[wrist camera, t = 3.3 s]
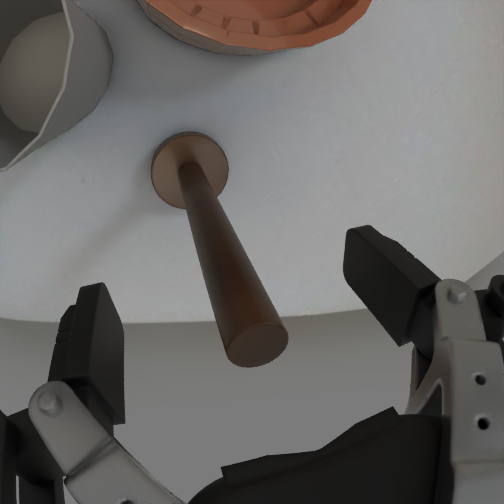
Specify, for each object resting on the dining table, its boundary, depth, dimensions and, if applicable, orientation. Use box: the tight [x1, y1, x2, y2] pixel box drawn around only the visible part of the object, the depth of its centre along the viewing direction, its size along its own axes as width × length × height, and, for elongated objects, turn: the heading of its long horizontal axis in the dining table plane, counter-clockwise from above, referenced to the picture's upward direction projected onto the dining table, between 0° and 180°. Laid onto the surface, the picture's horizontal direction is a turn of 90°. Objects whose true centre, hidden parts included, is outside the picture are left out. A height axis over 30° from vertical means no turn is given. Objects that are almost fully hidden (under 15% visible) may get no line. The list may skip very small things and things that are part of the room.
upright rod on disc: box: [151, 132, 288, 368], centre depth 14 cm, size 5×5×16 cm
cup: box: [0, 0, 113, 172], centre depth 10 cm, size 8×8×10 cm
